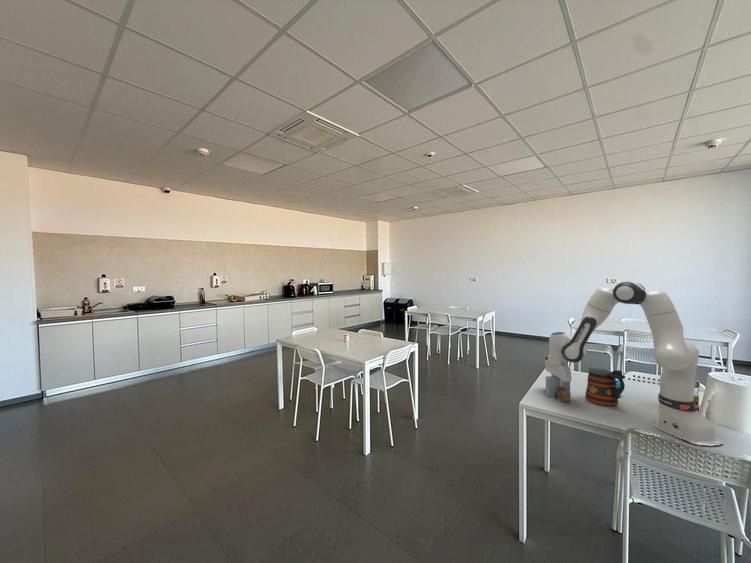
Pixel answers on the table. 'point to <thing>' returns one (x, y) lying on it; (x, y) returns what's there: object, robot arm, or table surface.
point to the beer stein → (604, 386)
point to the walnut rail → (563, 394)
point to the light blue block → (554, 385)
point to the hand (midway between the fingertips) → (557, 383)
